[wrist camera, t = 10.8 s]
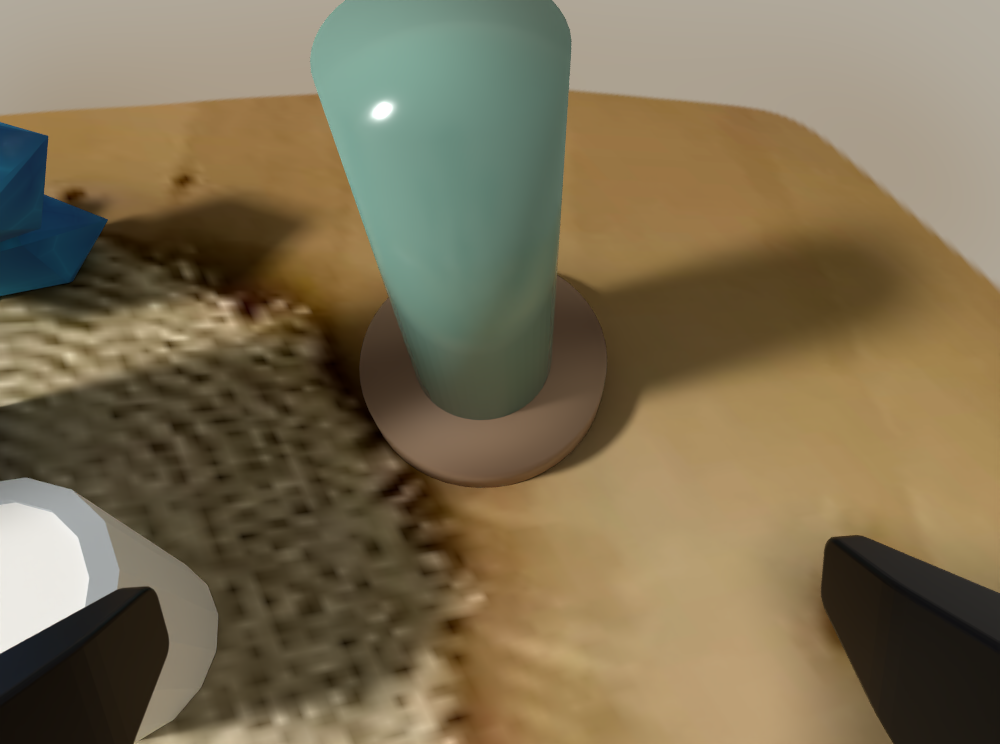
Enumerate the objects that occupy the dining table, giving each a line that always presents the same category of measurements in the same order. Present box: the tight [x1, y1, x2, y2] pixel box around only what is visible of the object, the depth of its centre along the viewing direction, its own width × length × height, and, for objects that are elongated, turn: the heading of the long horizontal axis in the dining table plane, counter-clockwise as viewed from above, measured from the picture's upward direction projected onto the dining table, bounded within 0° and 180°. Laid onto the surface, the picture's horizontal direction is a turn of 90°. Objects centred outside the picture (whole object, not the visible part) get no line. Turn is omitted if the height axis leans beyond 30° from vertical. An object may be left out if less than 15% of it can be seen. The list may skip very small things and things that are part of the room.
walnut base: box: [359, 275, 607, 488], centre depth 24 cm, size 9×9×2 cm
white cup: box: [0, 478, 218, 742], centre depth 18 cm, size 7×7×7 cm
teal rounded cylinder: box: [310, 0, 571, 420], centre depth 18 cm, size 5×5×12 cm
